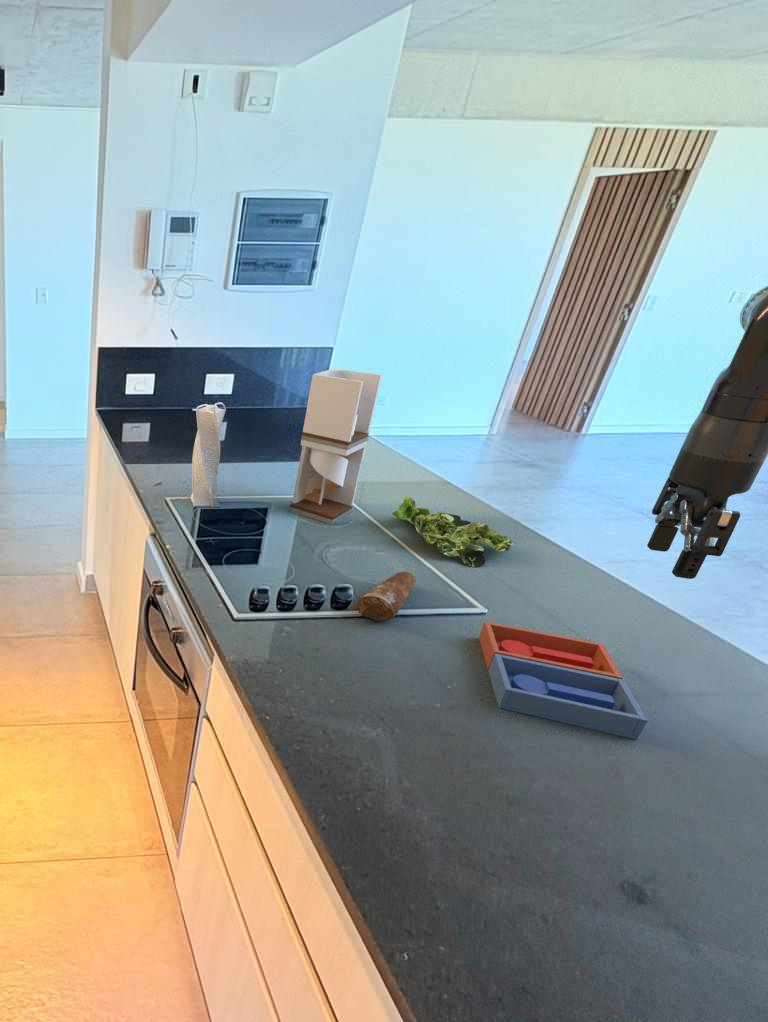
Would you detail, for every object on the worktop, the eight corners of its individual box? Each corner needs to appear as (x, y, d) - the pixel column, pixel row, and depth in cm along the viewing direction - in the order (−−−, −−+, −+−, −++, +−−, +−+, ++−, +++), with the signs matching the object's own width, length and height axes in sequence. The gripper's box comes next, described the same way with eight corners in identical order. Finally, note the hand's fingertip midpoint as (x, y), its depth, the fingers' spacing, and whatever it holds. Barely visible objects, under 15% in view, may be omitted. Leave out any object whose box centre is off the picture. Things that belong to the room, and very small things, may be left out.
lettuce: (461, 570, 130) (476, 540, 127) (368, 519, 150) (378, 493, 147) (517, 564, 136) (532, 536, 133) (420, 517, 157) (431, 491, 154)
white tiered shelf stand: (288, 510, 160) (312, 374, 144) (309, 500, 166) (334, 368, 150) (331, 524, 152) (361, 381, 137) (351, 512, 158) (382, 374, 143)
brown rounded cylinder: (352, 617, 116) (358, 592, 113) (391, 581, 127) (397, 557, 125) (387, 631, 111) (394, 605, 109) (424, 592, 123) (431, 568, 120)
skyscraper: (221, 509, 161) (234, 403, 149) (190, 509, 162) (200, 404, 149) (214, 497, 169) (225, 395, 156) (184, 497, 169) (193, 395, 157)
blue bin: (614, 698, 95) (623, 679, 93) (637, 740, 87) (647, 720, 85) (487, 670, 101) (494, 653, 99) (498, 707, 93) (506, 689, 92)
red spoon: (583, 663, 102) (588, 652, 101) (591, 679, 98) (597, 668, 97) (495, 645, 106) (499, 635, 105) (500, 660, 102) (504, 650, 101)
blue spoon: (602, 701, 93) (608, 689, 92) (612, 720, 90) (618, 709, 89) (506, 680, 98) (511, 669, 97) (512, 698, 94) (517, 686, 93)
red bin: (594, 661, 103) (602, 643, 101) (613, 696, 95) (623, 678, 94) (478, 637, 109) (484, 621, 108) (487, 669, 101) (494, 651, 100)
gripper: (796, 471, 70) (730, 592, 78) (734, 437, 82) (681, 545, 89) (710, 464, 73) (654, 581, 80) (662, 432, 85) (616, 537, 92)
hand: (668, 562), depth 85 cm, fingers open, 8 cm apart
